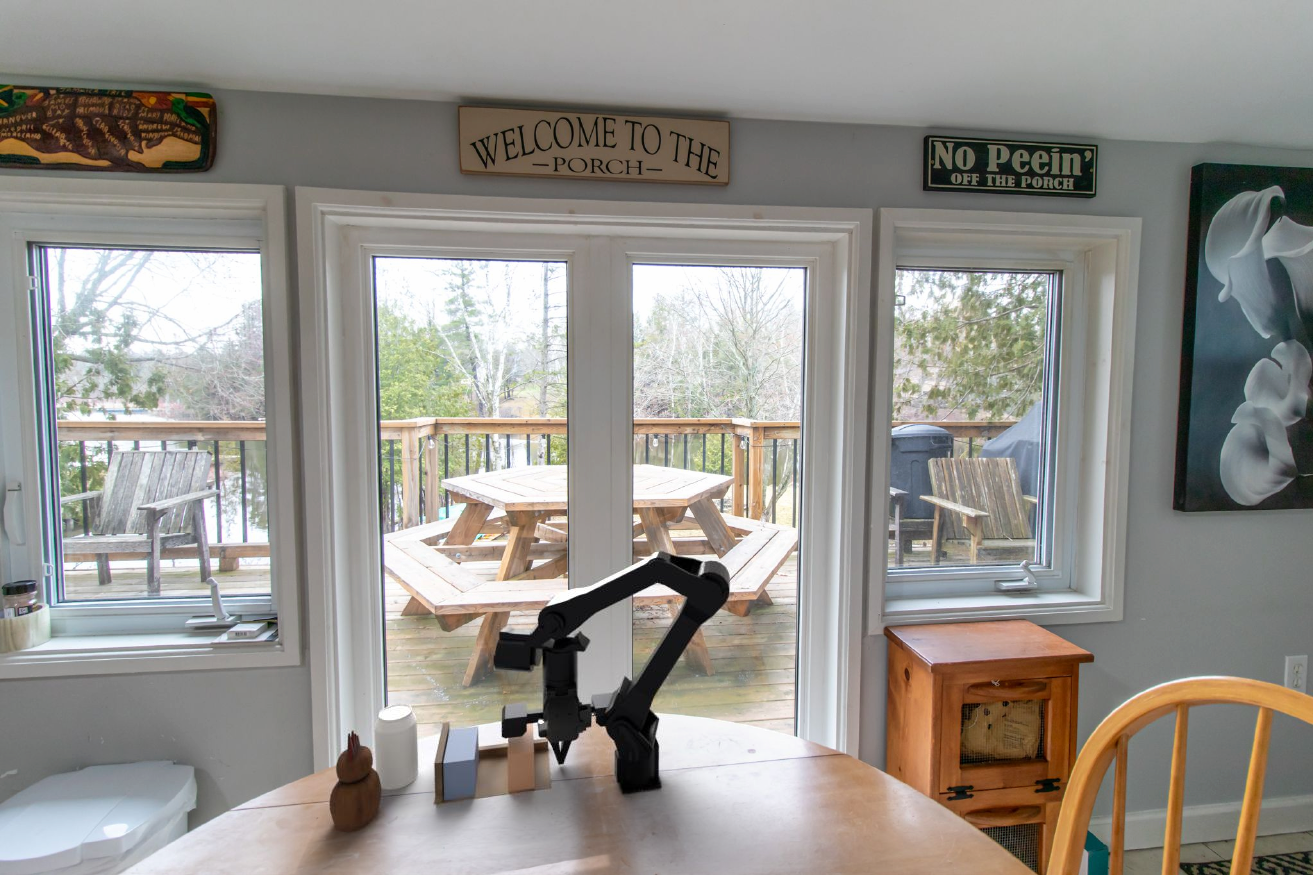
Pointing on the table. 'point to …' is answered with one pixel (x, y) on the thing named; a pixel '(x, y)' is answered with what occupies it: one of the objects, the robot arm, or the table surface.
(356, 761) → the wooden figurine
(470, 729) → the pale blue box
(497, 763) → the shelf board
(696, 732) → the table surface
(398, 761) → the beverage can
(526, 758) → the light orange box
